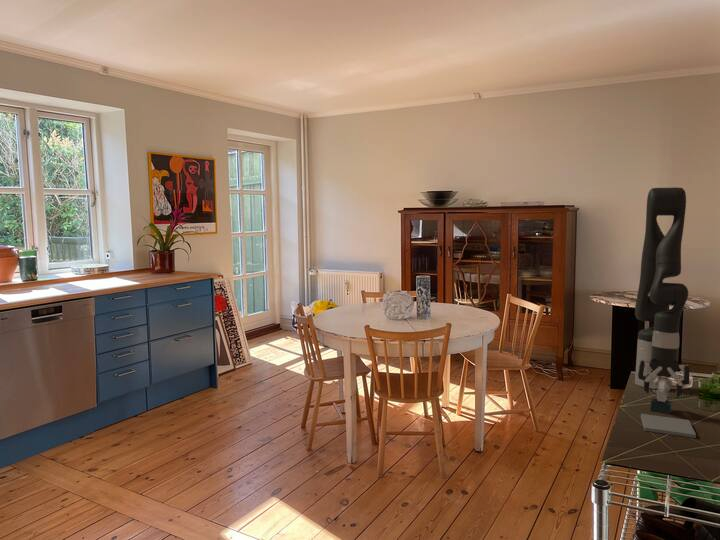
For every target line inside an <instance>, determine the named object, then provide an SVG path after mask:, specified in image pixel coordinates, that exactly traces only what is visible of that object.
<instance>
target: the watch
mask: <svg viewBox="0 0 720 540" xmlns="http://www.w3.org/2000/svg"><path fill="white" fill-rule="evenodd" d="M654 383H655V385H656V386H657V389H656V390H657V392H656V397H652V399H651V402H650V412H655V413H659V414H660V413H661V414H664V415H665V414H667V415H671V412H672V410H673V409H672V407H673V401H672V400H667V396H668V393H669V391H670V390H671V388H672V386H673V381H672V379H670V377H665V376H664V377H658V378H656V380H655V381H654Z"/></svg>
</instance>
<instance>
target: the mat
mask: <svg viewBox="0 0 720 540" xmlns="http://www.w3.org/2000/svg"><path fill="white" fill-rule="evenodd" d="M640 419H641V423H642V427H644V428H643V431H644V432H649V431H650V433H658V434H663V435H670V436H678V437H685V438H691V439H692V438H693V439H696V438H697V434H696V432H695V430H694V428H693V426H692V423H691V421H690V420H688V419H683V418H675V417H668V416H661V415H652V414H647V413H640Z"/></svg>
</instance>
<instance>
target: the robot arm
mask: <svg viewBox="0 0 720 540" xmlns="http://www.w3.org/2000/svg"><path fill="white" fill-rule="evenodd" d="M686 209H687V195H686V191H685V189H684V188H683V187H677V186H676V187H652V188H651V189H649V191H648V194H647V198H646V211H645V212H646V213H645V232H644V238H643V239H644V240H643V246H642V252H641V260H640V275H639V285H638V290H637V296H636V299H635V305H634V315H635V318H636V319H637V320H639V321H641V322H653V326H650V327H647V328H645V329H644V328H643V329H640V330H639V331H638V332H637V333H638V334H637V345H636V361H635V375H634V378H635V379H634V384H635V385H637V386H638V387H641V388H643V391H644V392H645V393H646V394H650V389H652V390H653V389H654V390H658V389H657V386H656V385H655V383H654V381H655V380H656V378H658V377H667V378H670V377H672V378H673V380H674V381H675V382H676V385H675V397H677V398H680V396H682V394H683V386H684V385H689V384H690V366H689V365H688V364H686V363H685V364H679V352H680V351H679V350H680V349H679V348H680V322H681V321H680V320H681V316H682V312H683V310H684V307H685V305H686V303H687V301H688V298H689V289H688V287H687V286H686V285H685V284H684V283H680V282H675V283H674V282H664V280H665V279H668V278H675V277H678V276H680V275H681V272H682V241H683V234H684V229H685V227H684V226H685V216H686ZM658 216H660V217H661V216H667V217H668V216H671V217H672V216H673V219H672V220H673V221H672V224H671V226H670V228H669V229H668V231H667V233H666V234H664V233H663V231H662V229H661V228H660V225H659V222H658V219H657V217H658ZM670 306H672V307H671V308H670ZM679 369H680V370H681V372H682V373H683V379H680V377H678V375H677V374H676V372H677V371H679Z"/></svg>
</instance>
